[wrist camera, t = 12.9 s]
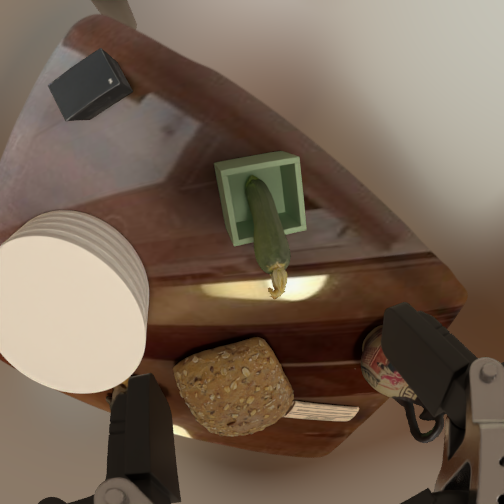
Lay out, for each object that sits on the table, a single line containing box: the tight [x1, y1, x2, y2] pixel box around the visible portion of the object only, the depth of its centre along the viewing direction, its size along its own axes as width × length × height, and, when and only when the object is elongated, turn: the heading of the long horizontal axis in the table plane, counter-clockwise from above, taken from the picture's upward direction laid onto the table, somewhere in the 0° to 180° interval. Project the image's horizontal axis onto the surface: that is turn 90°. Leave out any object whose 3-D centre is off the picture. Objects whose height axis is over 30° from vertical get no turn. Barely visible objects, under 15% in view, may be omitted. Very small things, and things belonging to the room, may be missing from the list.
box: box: [48, 48, 133, 121], centre depth 33 cm, size 8×6×11 cm
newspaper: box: [282, 401, 359, 421], centre depth 76 cm, size 24×7×2 cm, turn 62°
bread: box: [173, 337, 294, 436], centre depth 58 cm, size 24×21×12 cm
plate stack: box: [0, 210, 149, 393], centre depth 43 cm, size 28×28×12 cm
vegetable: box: [245, 175, 291, 299], centre depth 42 cm, size 4×4×20 cm
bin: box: [214, 151, 306, 246], centre depth 45 cm, size 11×11×8 cm
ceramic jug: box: [361, 325, 446, 443], centre depth 57 cm, size 17×15×30 cm
